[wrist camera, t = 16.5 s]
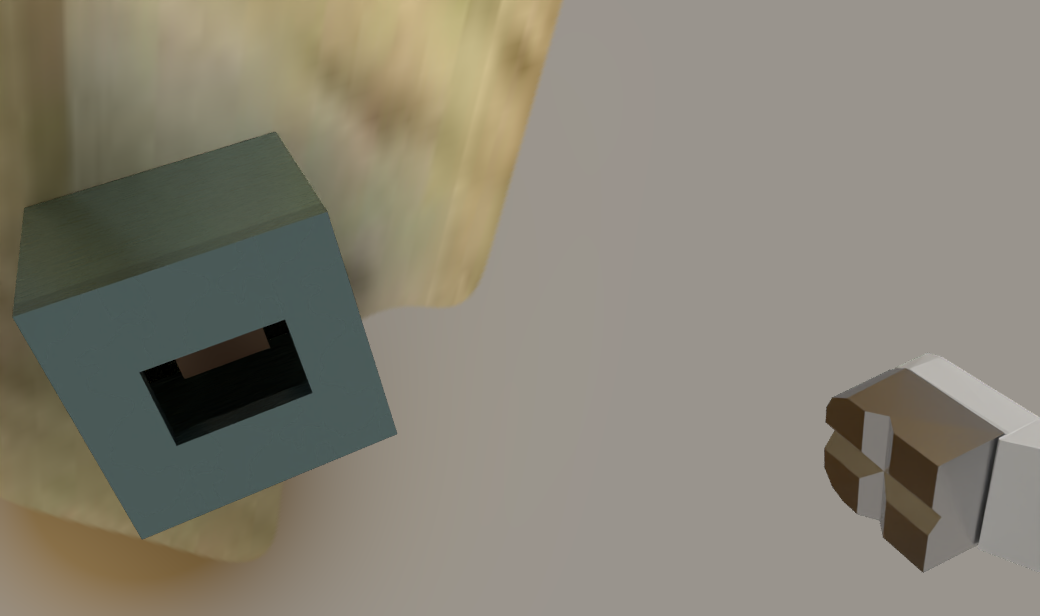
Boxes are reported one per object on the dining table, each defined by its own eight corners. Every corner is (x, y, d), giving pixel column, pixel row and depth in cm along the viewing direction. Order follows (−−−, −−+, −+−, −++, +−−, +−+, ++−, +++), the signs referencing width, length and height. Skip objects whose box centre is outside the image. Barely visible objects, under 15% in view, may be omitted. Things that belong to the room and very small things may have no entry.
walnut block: (169, 305, 46) (184, 379, 40) (150, 264, 44) (163, 335, 38) (244, 278, 47) (270, 347, 41) (228, 238, 45) (252, 303, 39)
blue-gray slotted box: (128, 404, 47) (141, 539, 39) (24, 208, 41) (12, 317, 32) (340, 325, 50) (397, 433, 42) (275, 131, 44) (327, 211, 35)
